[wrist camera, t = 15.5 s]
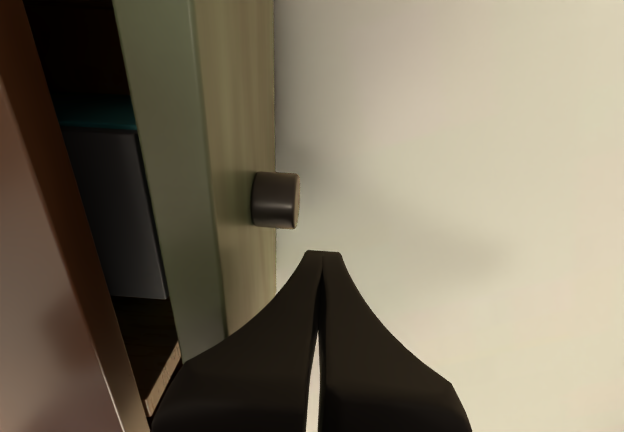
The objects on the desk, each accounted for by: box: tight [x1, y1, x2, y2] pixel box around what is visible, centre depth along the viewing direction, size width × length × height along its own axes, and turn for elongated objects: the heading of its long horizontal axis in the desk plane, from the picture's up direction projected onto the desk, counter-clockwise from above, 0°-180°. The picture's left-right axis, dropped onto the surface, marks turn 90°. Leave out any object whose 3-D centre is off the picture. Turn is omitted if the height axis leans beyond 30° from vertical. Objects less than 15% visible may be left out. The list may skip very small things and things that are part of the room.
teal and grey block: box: [49, 91, 169, 299], centre depth 10 cm, size 7×5×4 cm, turn 88°
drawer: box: [22, 0, 300, 417], centre depth 10 cm, size 15×12×7 cm
